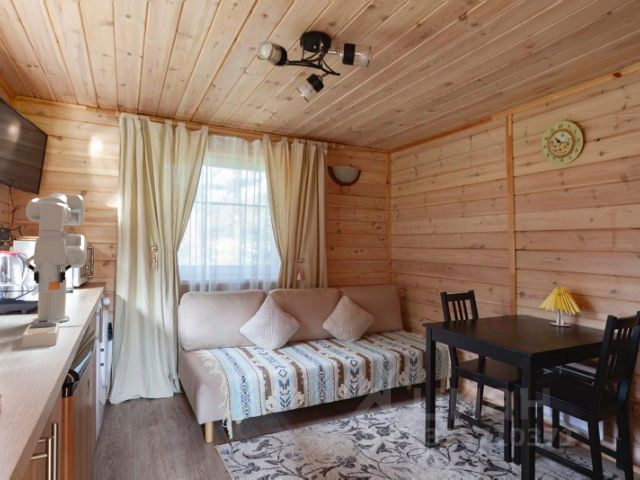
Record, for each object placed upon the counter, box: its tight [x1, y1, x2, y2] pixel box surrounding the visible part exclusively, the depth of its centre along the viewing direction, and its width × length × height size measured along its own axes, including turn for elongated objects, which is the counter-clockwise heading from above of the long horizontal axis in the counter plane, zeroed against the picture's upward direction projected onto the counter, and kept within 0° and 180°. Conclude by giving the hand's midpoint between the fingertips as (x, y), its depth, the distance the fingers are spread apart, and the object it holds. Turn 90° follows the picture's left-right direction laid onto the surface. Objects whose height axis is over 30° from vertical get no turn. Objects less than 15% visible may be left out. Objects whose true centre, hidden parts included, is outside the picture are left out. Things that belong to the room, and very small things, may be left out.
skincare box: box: [37, 260, 62, 293], centre depth 148 cm, size 6×4×12 cm
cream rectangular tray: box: [21, 322, 60, 349], centre depth 135 cm, size 18×9×4 cm, turn 31°
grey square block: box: [32, 319, 53, 329], centre depth 138 cm, size 6×6×5 cm
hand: (49, 282), depth 148 cm, fingers closed on skincare box, 7 cm apart
